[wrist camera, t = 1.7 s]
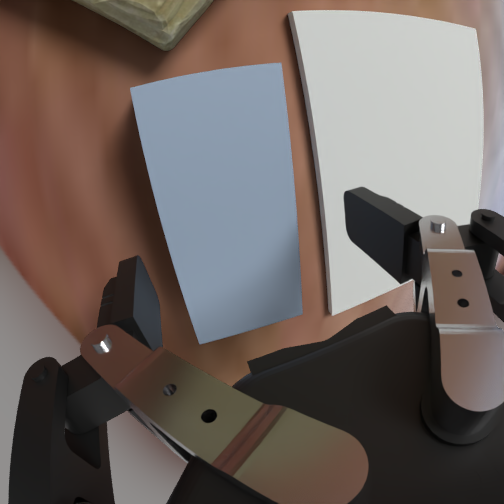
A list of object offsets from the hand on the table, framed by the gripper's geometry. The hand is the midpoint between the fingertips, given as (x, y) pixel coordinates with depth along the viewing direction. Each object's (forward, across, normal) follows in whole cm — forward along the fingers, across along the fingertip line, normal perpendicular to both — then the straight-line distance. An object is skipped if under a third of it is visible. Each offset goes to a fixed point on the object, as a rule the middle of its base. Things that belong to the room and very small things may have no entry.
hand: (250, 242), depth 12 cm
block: (+6, 0, 0) cm, 6 cm away
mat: (+5, -13, +1) cm, 14 cm away
